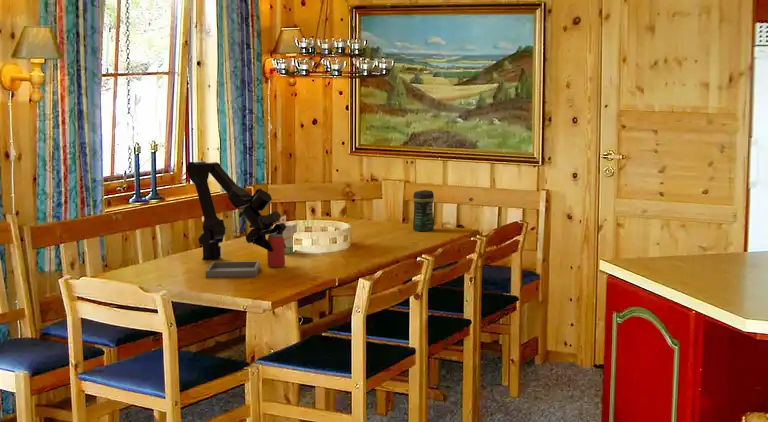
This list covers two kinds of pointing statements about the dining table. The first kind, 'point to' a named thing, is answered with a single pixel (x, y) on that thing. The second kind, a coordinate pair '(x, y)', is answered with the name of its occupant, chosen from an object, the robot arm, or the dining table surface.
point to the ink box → (288, 235)
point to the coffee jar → (423, 210)
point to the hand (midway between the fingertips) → (278, 249)
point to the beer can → (276, 251)
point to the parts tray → (233, 269)
